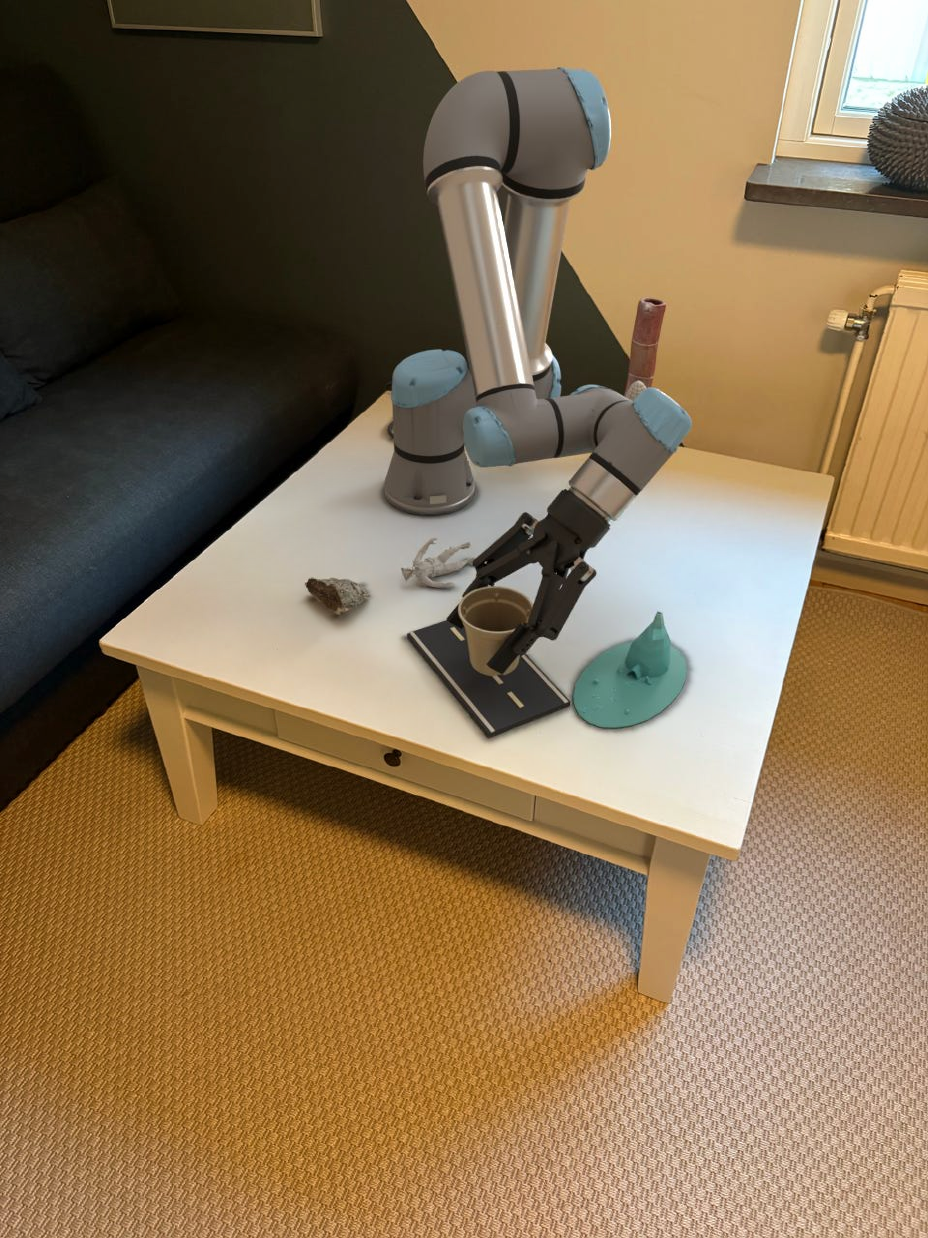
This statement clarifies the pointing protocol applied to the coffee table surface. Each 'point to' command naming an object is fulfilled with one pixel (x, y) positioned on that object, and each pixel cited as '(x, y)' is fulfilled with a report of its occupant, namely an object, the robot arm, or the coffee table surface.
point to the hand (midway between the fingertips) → (473, 646)
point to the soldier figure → (435, 565)
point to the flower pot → (492, 622)
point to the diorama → (631, 680)
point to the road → (487, 681)
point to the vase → (644, 346)
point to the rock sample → (337, 593)
